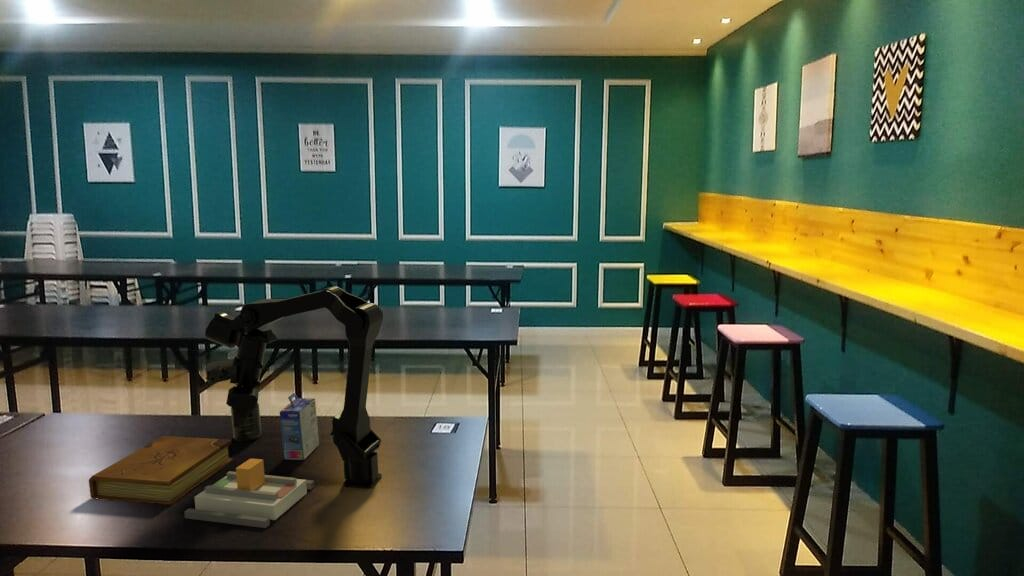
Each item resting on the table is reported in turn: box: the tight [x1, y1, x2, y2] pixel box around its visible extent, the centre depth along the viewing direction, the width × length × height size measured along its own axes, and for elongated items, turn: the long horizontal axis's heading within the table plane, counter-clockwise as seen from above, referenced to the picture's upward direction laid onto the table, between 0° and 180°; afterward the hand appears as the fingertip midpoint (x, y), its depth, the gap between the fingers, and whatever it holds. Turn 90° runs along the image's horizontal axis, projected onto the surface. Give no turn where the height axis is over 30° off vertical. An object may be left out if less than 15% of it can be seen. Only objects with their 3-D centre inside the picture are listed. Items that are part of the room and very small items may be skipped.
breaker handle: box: [235, 458, 265, 490], centre depth 145 cm, size 3×5×5 cm, turn 166°
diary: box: [88, 435, 234, 506], centre depth 158 cm, size 23×19×6 cm
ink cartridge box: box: [279, 392, 320, 461], centre depth 171 cm, size 10×6×14 cm, turn 174°
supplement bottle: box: [230, 402, 262, 443], centre depth 181 cm, size 7×7×12 cm
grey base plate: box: [183, 478, 315, 529], centre depth 146 cm, size 18×18×1 cm
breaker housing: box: [194, 470, 308, 521], centre depth 146 cm, size 18×12×4 cm, turn 76°
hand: (238, 417), depth 161 cm, fingers open, 9 cm apart
